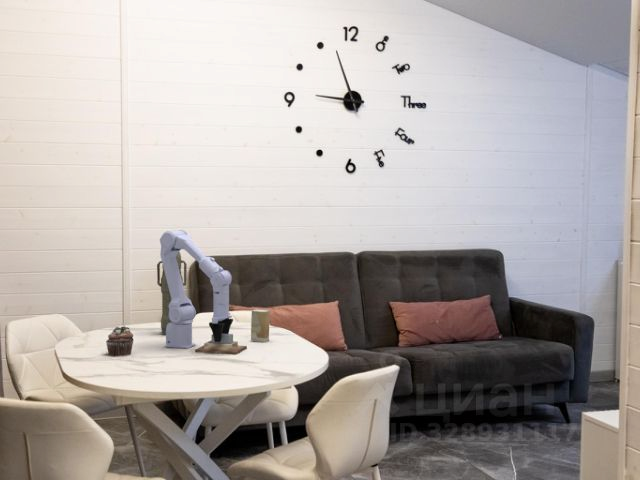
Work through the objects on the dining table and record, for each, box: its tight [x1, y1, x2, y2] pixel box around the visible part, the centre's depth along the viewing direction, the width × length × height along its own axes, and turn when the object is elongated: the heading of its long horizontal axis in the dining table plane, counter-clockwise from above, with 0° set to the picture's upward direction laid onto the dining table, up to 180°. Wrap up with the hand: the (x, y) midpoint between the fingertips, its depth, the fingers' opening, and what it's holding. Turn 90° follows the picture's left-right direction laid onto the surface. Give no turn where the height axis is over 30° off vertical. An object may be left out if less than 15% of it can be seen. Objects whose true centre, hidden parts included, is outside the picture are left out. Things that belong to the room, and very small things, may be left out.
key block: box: [211, 333, 234, 344], centre depth 315 cm, size 4×7×5 cm, turn 76°
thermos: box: [156, 250, 188, 336], centre depth 350 cm, size 9×12×35 cm
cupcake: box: [105, 325, 134, 357], centre depth 307 cm, size 10×10×10 cm
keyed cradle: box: [194, 339, 248, 355], centre depth 315 cm, size 16×12×3 cm
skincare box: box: [250, 309, 271, 343], centre depth 336 cm, size 6×4×12 cm
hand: (221, 339), depth 315 cm, fingers open, 7 cm apart
